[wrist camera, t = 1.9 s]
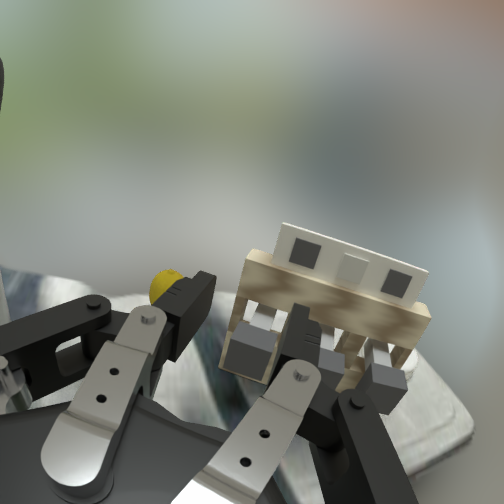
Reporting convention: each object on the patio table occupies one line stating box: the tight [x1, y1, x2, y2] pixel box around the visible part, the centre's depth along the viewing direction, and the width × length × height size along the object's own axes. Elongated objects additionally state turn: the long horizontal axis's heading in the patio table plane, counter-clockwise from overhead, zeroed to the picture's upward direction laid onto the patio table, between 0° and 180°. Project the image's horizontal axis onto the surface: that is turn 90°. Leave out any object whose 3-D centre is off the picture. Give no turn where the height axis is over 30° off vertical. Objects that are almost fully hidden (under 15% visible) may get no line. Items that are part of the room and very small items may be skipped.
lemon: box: [149, 269, 184, 305], centre depth 44 cm, size 6×6×8 cm
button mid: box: [318, 322, 345, 390], centre depth 32 cm, size 4×10×4 cm, turn 165°
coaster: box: [359, 337, 418, 380], centre depth 45 cm, size 10×10×4 cm
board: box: [218, 249, 431, 393], centre depth 36 cm, size 21×6×16 cm, turn 75°
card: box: [271, 222, 429, 309], centre depth 30 cm, size 16×1×4 cm, turn 75°
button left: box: [223, 303, 278, 381], centre depth 33 cm, size 4×10×4 cm, turn 165°
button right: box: [355, 338, 408, 415], centre depth 31 cm, size 4×10×4 cm, turn 165°
